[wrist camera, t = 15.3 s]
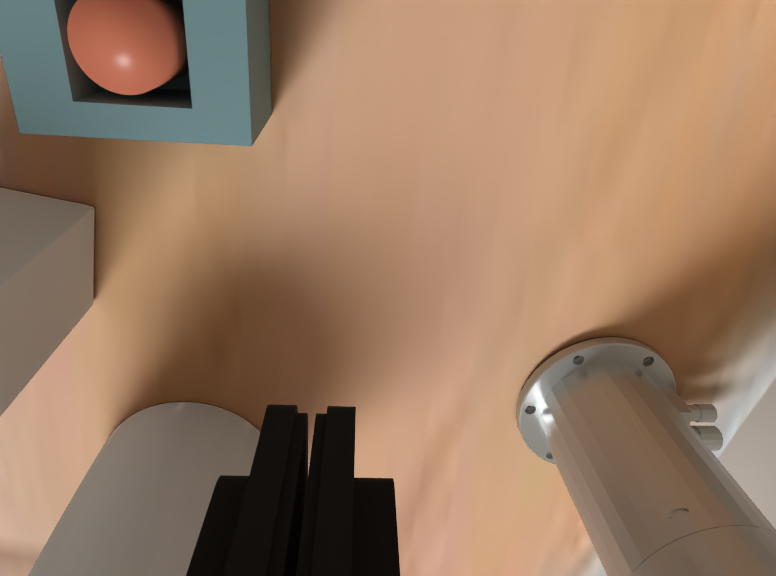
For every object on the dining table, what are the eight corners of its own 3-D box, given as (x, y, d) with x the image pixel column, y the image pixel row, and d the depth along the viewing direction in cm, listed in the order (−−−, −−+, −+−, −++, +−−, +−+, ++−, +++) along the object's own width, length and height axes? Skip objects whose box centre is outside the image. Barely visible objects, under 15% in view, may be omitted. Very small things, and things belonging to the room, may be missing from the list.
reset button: (195, -7, 26) (165, -9, 21) (202, 82, 28) (176, 98, 23) (107, -14, 25) (57, -18, 21) (120, 77, 27) (77, 91, 23)
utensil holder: (137, 362, 39) (4, 596, 24) (318, 437, 44) (305, 674, 28) (70, 490, 44) (-75, 750, 29) (238, 545, 49) (189, 795, 34)
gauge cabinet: (267, -52, 28) (242, -70, 21) (271, 114, 32) (251, 146, 25) (64, -70, 27) (-35, -96, 20) (93, 103, 31) (19, 133, 24)
